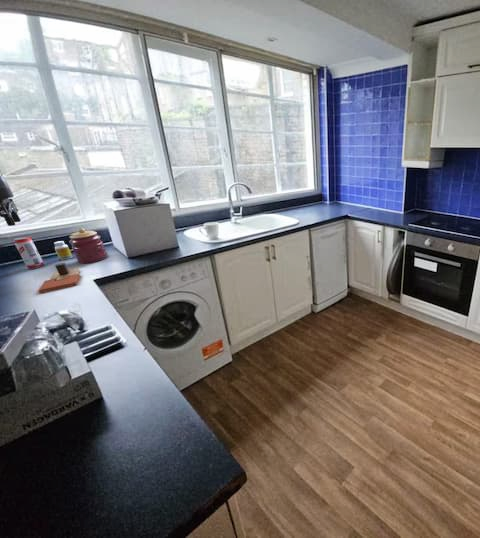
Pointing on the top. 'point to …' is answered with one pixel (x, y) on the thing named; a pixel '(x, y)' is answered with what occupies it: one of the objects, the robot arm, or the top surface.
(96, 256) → the kitchen canister
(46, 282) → the rubber pad
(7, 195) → the robot arm
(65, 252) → the supplement bottle
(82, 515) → the top surface
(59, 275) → the cork pad
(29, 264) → the beer can
